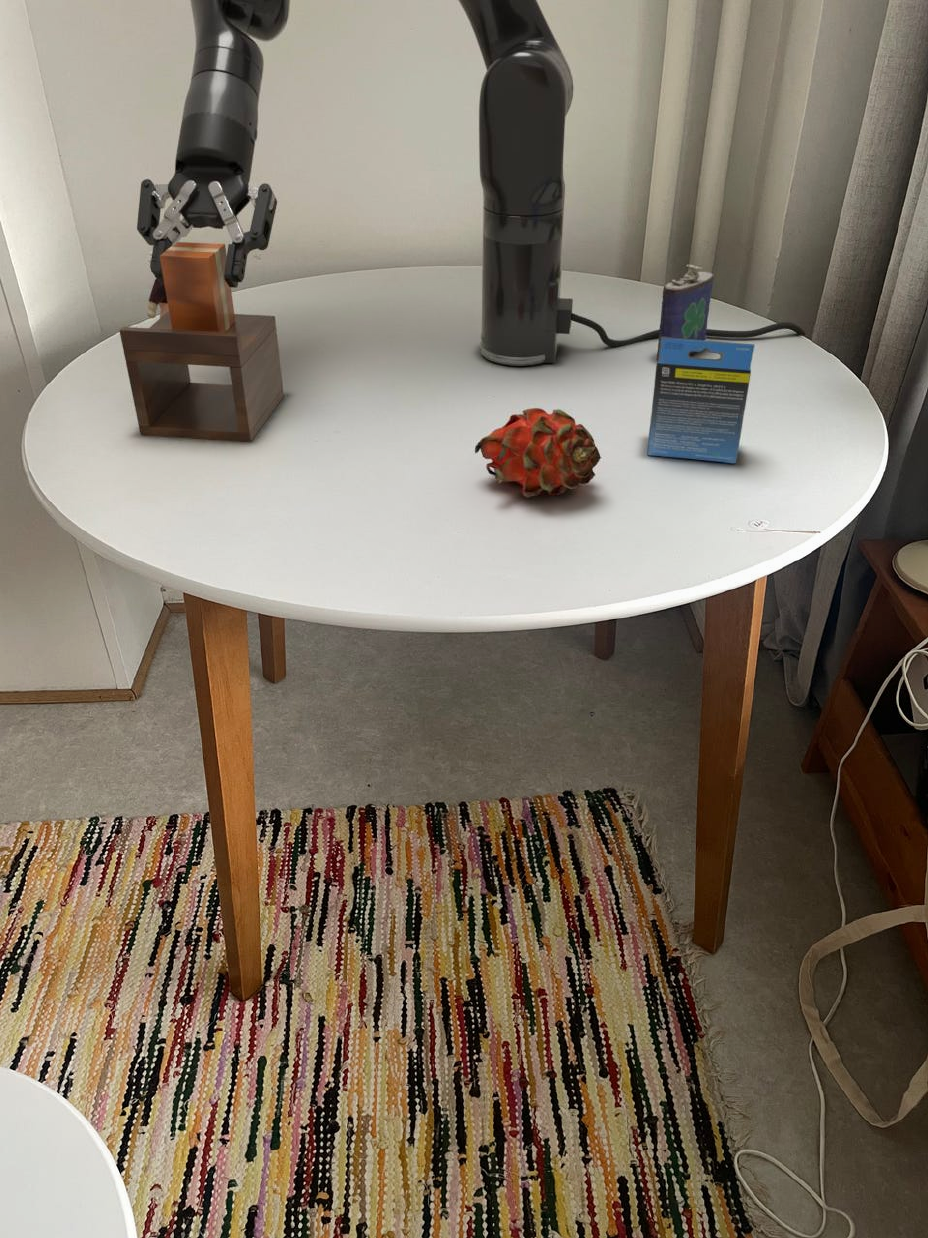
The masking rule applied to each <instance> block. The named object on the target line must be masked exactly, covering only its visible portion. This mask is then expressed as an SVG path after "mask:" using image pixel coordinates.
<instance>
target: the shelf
mask: <svg viewBox="0 0 928 1238" xmlns="http://www.w3.org/2000/svg"><path fill="white" fill-rule="evenodd" d="M234 315H235V322H234V323H233V324H232V325H231V326H230V328H229V329H228V330H227V331H226V332H212V331H193V330H173V329H172V325H171V319H170V313H169V311H168V312H167V313H166V314H165V315H163V316H162V317H161V318H160V317H159V318H158V320H156V321H155V322H154V323H153V324H151V326H149V327H134V326H131V327H130V326H123V327H121V328H120V329H119V330H118V331H119V336H120V342H121V345H122V350H123V355H124V359H125V360H124V361H125V365H126V370H127V376H128V379H129V384H130V385H129V386H130V389H131V394H132V400H133V404H134V409H135V414H136V418H137V424H138V429H139V433H140V435H142V436H152V437H153V436H154V437H167V438H168V437H170V438H182V439H183V438H185V439H199V440H200V439H201V440H216V441H217V440H218V441H231V442H244V443H245V442H248V443H251V442H252V441H253V439H255V437H256V436H257V434H258V433H259V432H260V430H261V429H262V427H263V426H264V424H265V423H266V422H267V420H268V419H269V417H270V416H271V415H272V414H273V412H274V411H275V409H276V408H277V406H278V405H279V404H280V402H281V401H282V399H283V398H284V397H285V394H284V386H283V385H284V384H283V376H282V366H281V358H280V349H279V340H278V339H279V338H278V332H277V330H278V329H277V324H276V323H277V321H276V316H275V315H264V314H262V315H261V314H247V313H246V314H243V313H234ZM191 365H192V366H204V367H205V366H206V367H224V368H229V373H230V381H231V384H222V383H221V384H220V383H218V384H217V383H205V382H204V383H203V382H192V381H191V376H190V375H191V373H190V369H189V366H191Z"/></svg>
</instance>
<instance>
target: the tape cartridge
mask: <svg viewBox="0 0 928 1238" xmlns="http://www.w3.org/2000/svg"><path fill="white" fill-rule="evenodd" d="M660 338H661V339H660V348H659V356H658V362H657V361H656V365H655V373H654V375H655V376H654V386H653V395H652V403H651V413H650V422H649V428H648V429H649V431H648V437H647V446H646V454H647V456H649V457H651V456H652V457H664V458H676V459H689V460H690V459H691V460H699V461H700V460H701V461H709V462H719V463H727V464H736V463H737V460H738V459H737V458H738V453H739V447H740V443H741V442H740V441H741V436H742V431H743V423H744V418H745V411H746V405H747V400H748V393H749V387H750V382H751V376H752V369H751V367H752V361H753V355H754V351H755V350H754V349H755V344H754V343H740V342H731V341H730V342H729V341H718V340H717V341H716V340H707V339H705V340H694V339H680V338H670V337H660ZM704 350H707V351H708V352H709V353H710V354H717V355H719V356H720V357H719V358H707V357H692V356H690V355H689V353H690V352H692V351H694V352H696V353H702V351H704Z"/></svg>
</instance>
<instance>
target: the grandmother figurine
mask: <svg viewBox="0 0 928 1238" xmlns="http://www.w3.org/2000/svg"><path fill="white" fill-rule="evenodd" d="M152 251H153V249H152V250H151V251H149V253H148V262H149V265H150V264H151V258H152ZM158 307H159V308H160V309H159V310H160V311H159V319H160V318H161V317H162V316H163V315H165V314H166V313H167V312H168V311H169V308H168V302H167V296H166V290H165V284H160V282H159V281H158V280H157V279H156V278H155V279H154V281H153V285H152V287H151V291H150V295H149V297H148V306H147V309H148V310H147V312H146V315H147V317H148V319H155V318H156V317H157V310H158Z"/></svg>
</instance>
